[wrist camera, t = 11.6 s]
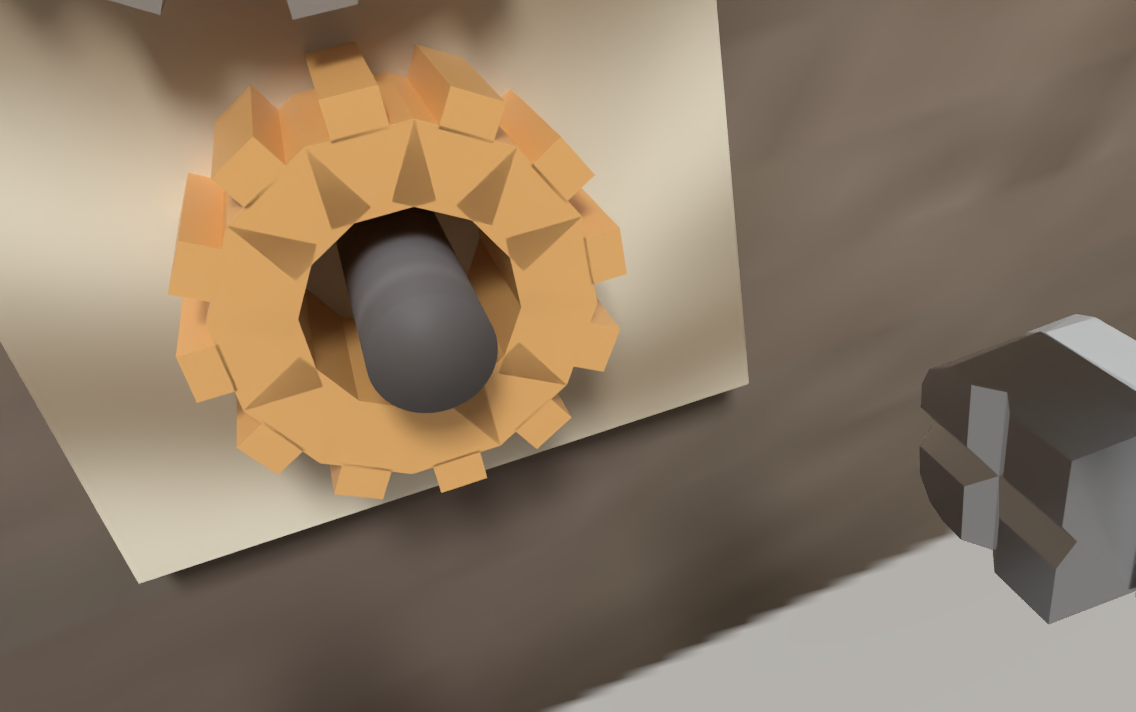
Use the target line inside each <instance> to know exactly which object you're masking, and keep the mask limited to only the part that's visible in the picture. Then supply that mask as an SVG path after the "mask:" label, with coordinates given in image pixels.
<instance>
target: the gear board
mask: <svg viewBox="0 0 1136 712" xmlns="http://www.w3.org/2000/svg"><path fill="white" fill-rule="evenodd" d="M352 42H355V44H356V45H357V47H358V49H359V51H360V53H361V55H362V56H363V58H364V60H365V62H366V64H367V65H368V67H369V69H370V71H371V73H372V74H376V73H380V72H384V71H387V72H391V73H394V74H397V75H401V76H404V77H407V74H408V70H409V67H410V63H411V59H412V55H413V52H414V48H415V44H418V45H422V46H425V47H428V48H431V49H435V50H438V51H441V52H444V53H448V54H451V55H454V56H457V57H461V58H463V59H464V60H465V61H466V62H467V63H468V64H469V65H470V66H471V67H472V68H473V69H474V70H475V71H476V72H477V73H478V74H479V75H480V76H481V77H482V78H483V79H484V80H485V81H486V82H487V83H488V84H489V85H490V86H491V87H492V88H493V89H494V90H495V91H496V92H497V94H498V95H499V96H500V97H502V96H503V95H505V94H506V93H507V92H508V91H509V90H510V89H511V90H513V91H514V92H515V93H516V94H517V95H518V96H519V97H520V98H521V99H522V100H523V101H524V102H525V103H526V104H527V105H528V106H529V107H530V108H531V109H532V110H534V111H535V112H536V113H537V114H538V115H539V116H540V117H541V118H542V119H543V120H544V121H545V122H546V123H547V124H548V125H549V126H550V127H551V128H552V129H553V130H555V131H556V132H557V133H558V134H559V135H560V136H561V137H562V138H563V139H564V141H565V142H566V143H567V144H568V145H569V146H570V147H571V148H572V150H573V151H574V152H575V153H576V154H577V155H578V156H579V157H580V159H581V160H582V161H583V162H584V163H585V164H586V165H587V166H588V168H589V169H590V170H591V171H592V172H593V173H594V174H595V176H593V177H592V178H591V179H590V180H589V181H588V182H587V183H586V184H585V185H584V186H583V187H582V189H583V190H584V191H585V192H586V193H587V194H588V195H589V196H590V197H591V198H592V199H593V200H594V201H595V202H596V203H597V204H598V206H599V207H600V208H601V209H602V210H603V211H604V212H605V213H606V214H607V215H608V216H609V217H610V218H611V219H612V220H613V221H614V222H615V223H616V224H617V225H618V226H619V227H620V232H621V239H622V245H623V252H624V258H625V265H626V271H627V274H625V275H622V276H619V277H615V278H612V279H609V280H605V281H602V282H599V283H595V284H594V286H595V292H596V298H597V299H598V300H599V302H600V303H601V304H602V306H603V307H604V308H605V309H606V311H607V312H608V313H609V315H610V316H611V317H612V319H613V320H614V321H615V323H616V324H617V325H618V326H619V328H620V331H619V334H618V336H617V339H616V342H615V344H614V347H613V349H612V352H611V354H610V357H609V359H608V362H607V365H606V367H605V370H604V372H602V371H596V370H591V369H585V368H579V367H573V370H572V372H571V375H570V378H569V380H568V383H567V385H566V386H565V387H564V388H563V389H562V390H561V391H560V392H559V393H558V394H559V396H560V398H561V399H562V401H563V403H564V405H565V407H566V408H567V410H568V412H569V414H570V415H571V417H572V418H571V419H569V420H568V421H567V422H566V423H565V424H564V425H563V426H562V427H561V428H560V429H558V430H557V431H556V432H555V433H554V434H553V435H552V436H551V437H550V438H549V439H547V440H546V441H545V442H544V443H543V444H542V445H541V446H540V447H539V448H538V449H536V448H535V447H534V446H533V445H531V444H530V443H529V442H528V441H527V440H525V439H524V438H523V437H522V436H520V435H519V434H518V433H517V432H515V433H514V434H513V435H511V436H510V437H509V438H508V439H507V440H506V441H505V442H504V443H503V444H502V445H501V446H498V447H495V448H492V449H489V450H485V451H482V452H480V453H481V457H482V461H483V464H484V468H485V470H487V469H490V468H493V467H496V466H499V465H502V464H505V463H508V462H511V461H515V460H518V459H521V458H524V457H527V456H530V455H533V454H536V453H539V452H542V451H545V450H548V449H551V448H554V447H557V446H560V445H563V444H566V443H569V442H572V441H575V440H579V439H582V438H585V437H588V436H591V435H594V434H597V433H600V432H603V431H606V430H609V429H612V428H615V427H618V426H621V425H624V424H627V423H630V422H633V421H636V420H640V419H643V418H646V417H649V416H652V415H655V414H658V413H661V412H664V411H667V410H670V409H673V408H676V407H679V406H682V405H685V404H688V403H691V402H694V401H697V400H701V399H704V398H707V397H710V396H713V395H716V394H719V393H722V392H725V391H728V390H731V389H734V388H737V387H740V386H743V385H746V384H749V379H748V368H747V356H746V344H745V332H744V321H743V309H742V297H741V285H740V273H739V262H738V250H737V238H736V226H735V215H734V203H733V191H732V179H731V168H730V156H729V144H728V132H727V121H726V109H725V97H724V85H723V73H722V62H721V50H720V38H719V26H718V15H717V3H716V0H0V342H1V343H2V345H3V347H4V349H5V350H6V352H7V354H8V356H9V357H10V359H11V361H12V363H13V364H14V366H15V368H16V370H17V371H18V373H19V375H20V377H21V378H22V380H23V382H24V384H25V385H26V387H27V389H28V391H29V392H30V394H31V396H32V398H33V399H34V401H35V403H36V405H37V406H38V408H39V410H40V412H41V413H42V415H43V417H44V419H45V420H46V422H47V424H48V426H49V427H50V429H51V431H52V433H53V434H54V436H55V438H56V440H57V441H58V443H59V445H60V447H61V448H62V450H63V452H64V454H65V455H66V457H67V459H68V461H69V462H70V464H71V466H72V468H73V469H74V471H75V473H76V475H77V476H78V478H79V480H80V482H81V483H82V485H83V487H84V489H85V490H86V492H87V494H88V496H89V497H90V499H91V501H92V503H93V504H94V506H95V508H96V510H97V511H98V513H99V515H100V517H101V518H102V520H103V522H104V524H105V525H106V527H107V529H108V531H109V532H110V534H111V536H112V538H113V539H114V541H115V543H116V545H117V546H118V548H119V550H120V552H121V554H122V555H123V557H124V559H125V561H126V562H127V564H128V566H129V568H130V569H131V571H132V573H133V575H134V576H135V578H136V580H137V582H138V583H142V582H145V581H149V580H152V579H155V578H158V577H161V576H164V575H167V574H170V573H173V572H176V571H179V570H182V569H185V568H188V567H191V566H194V565H197V564H200V563H203V562H206V561H210V560H213V559H216V558H219V557H222V556H225V555H228V554H231V553H234V552H237V551H240V550H243V549H246V548H249V547H252V546H255V545H258V544H261V543H264V542H267V541H271V540H274V539H277V538H280V537H283V536H286V535H289V534H292V533H295V532H298V531H301V530H304V529H307V528H310V527H313V526H316V525H319V524H322V523H325V522H328V521H332V520H335V519H338V518H341V517H344V516H347V515H350V514H353V513H356V512H359V511H362V510H365V509H368V508H371V507H374V506H377V505H380V504H383V503H386V502H389V501H393V500H396V499H399V498H402V497H405V496H408V495H411V494H414V493H417V492H420V491H423V490H426V489H429V488H432V487H435V486H438V485H439V484H438V481H437V477H436V474H435V471H434V468H430V469H427V470H424V471H421V472H418V473H415V474H407V473H399V472H391V475H390V478H389V482H388V485H387V488H386V491H385V495H384V498H383V499H374V498H365V497H355V496H346V495H336V494H334V490H333V483H332V476H331V470H330V464H322V463H319V462H317V461H316V460H314V459H313V458H312V457H310V456H309V455H307V454H306V453H304V452H302V453H301V454H300V455H299V456H298V457H296V458H295V459H294V460H293V461H292V462H291V463H290V464H289V465H288V466H287V467H286V468H285V469H284V470H283V471H282V472H281V473H280V474H278V475H277V474H276V473H274V472H273V471H271V470H270V469H268V468H267V467H265V466H264V465H262V464H261V463H259V462H257V461H256V460H254V459H253V458H251V457H250V456H248V455H247V454H245V453H244V452H242V451H241V450H239V449H238V448H237V395H236V393H235V392H232V393H228V394H225V395H222V396H218V397H215V398H212V399H208V400H205V401H202V402H198V403H197V402H196V400H195V398H194V395H193V393H192V391H191V389H190V387H189V385H188V382H187V380H186V378H185V376H184V374H183V372H182V369H181V367H180V365H179V363H178V361H177V359H176V350H177V342H178V333H179V325H180V316H181V308H182V299H183V297H179V296H173V295H168V291H169V284H170V277H171V271H172V264H173V257H174V251H175V244H176V237H177V231H178V224H179V218H180V212H181V207H182V202H183V196H184V191H185V186H186V180H187V175H188V173H193V174H197V175H202V176H206V177H210V178H211V169H212V156H213V143H214V130H215V120H216V119H217V118H218V117H219V116H220V115H221V114H222V113H223V112H224V111H225V110H226V109H227V108H228V107H229V106H230V105H231V104H232V103H233V102H234V101H235V100H236V99H237V98H238V97H239V96H240V95H241V94H242V93H243V92H244V91H245V90H246V89H247V88H248V86H249V85H250V84H251V85H252V86H253V87H254V88H255V89H256V90H257V91H258V92H259V93H260V94H261V95H263V96H264V97H265V98H266V99H267V100H268V101H269V102H270V103H271V104H272V105H273V106H275V107H276V108H277V109H279V108H280V107H281V106H282V105H283V104H284V103H285V102H286V101H287V100H288V99H289V98H290V97H291V96H292V95H293V94H296V93H300V92H304V91H308V90H312V89H315V88H314V85H313V82H312V78H311V75H310V72H309V68H308V65H307V61H306V58H305V55H304V54H307V53H311V52H315V51H319V50H323V49H327V48H331V47H335V46H339V45H343V44H348V43H352ZM479 238H480V236H479V232H478V228H477V225H476V224H475V223H474V222H473V221H472V220H468V219H464V218H460V217H455V216H451V215H447V214H443V213H438V212H434V211H430V210H426V209H421V208H417V207H411V208H408V209H404V210H401V211H397V212H393V213H390V214H386V215H383V216H379V217H375V218H372V219H368V220H364V221H361V222H357V223H354V224H353V225H352V226H351V227H350V228H349V229H348V230H347V231H346V232H345V233H344V234H343V235H342V236H341V237H340V238H339V239H338V240H337V241H336V242H335V243H334V244H333V245H332V246H331V247H330V248H329V249H328V250H327V251H326V252H325V253H324V254H323V255H321V256H320V257H319V258H318V259H317V260H316V261H315V262H314V263H313V264H312V265H311V269H310V273H309V277H308V281H307V285H306V289H307V290H309V291H310V292H311V293H312V294H314V295H315V296H316V297H317V298H318V299H320V300H321V301H322V302H323V303H325V304H326V305H327V306H328V307H330V308H331V309H332V310H333V311H335V312H336V313H337V314H338V315H340V316H341V317H346V318H351V319H355V324H356V328H357V332H358V336H359V340H360V345H361V349H362V353H363V357H364V361H365V366H366V370H367V374H368V377H369V379H370V382H371V384H372V385H373V387H374V388H375V390H376V391H377V392H378V393H379V395H380V396H381V397H383V398H384V399H385V400H386V401H388V402H389V403H391V404H392V405H394V406H396V407H398V408H400V409H403V410H406V411H410V412H415V413H436V412H442V411H446V410H449V409H452V408H455V407H457V406H459V405H461V404H463V403H465V402H466V401H468V400H469V399H471V398H472V397H473V396H475V395H476V394H477V393H478V392H479V391H480V390H481V389H482V388H483V387H484V385H485V384H486V383H487V381H488V380H489V378H490V376H491V375H492V373H493V370H494V368H495V365H496V361H497V355H498V343H497V337H496V334H495V331H494V328H493V326H492V324H491V322H490V321H489V319H488V317H487V315H486V313H485V311H484V309H483V307H482V305H481V303H480V301H479V299H478V297H477V295H476V293H475V291H474V289H473V287H472V285H471V283H470V281H469V280H468V278H467V276H468V273H469V270H470V266H471V263H472V260H473V257H474V254H475V251H476V247H477V244H478V241H479Z"/></svg>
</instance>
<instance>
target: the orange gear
mask: <svg viewBox="0 0 1136 712" xmlns="http://www.w3.org/2000/svg"><path fill="white" fill-rule="evenodd" d="M304 55H305V58H306V61H307V65H308V68H309V72H310V75H311V78H312V82H313V85H314V88H315V89H312V90H308V91H304V92H300V93H296V94H293V95H292V96H291V97H290V98H289V99H288V100H287V101H286V102H285V103H284V104H283V105H282V106H281V107H280V108H279V109H277V108H276V107H275V106H273V105H272V104H271V103H270V102H269V101H268V100H267V99H266V98H265V97H264V96H263V95H261V94H260V93H259V92H258V91H257V90H256V89H255V88H254V87H253V86H252V85H251V84H250V85H249V86H248V88H247V89H246V90H245V91H244V92H243V93H242V94H241V95H240V96H239V97H238V98H237V99H236V100H235V101H234V102H233V103H232V104H231V105H230V106H229V107H228V108H227V109H226V110H225V111H224V112H223V113H222V114H221V115H220V116H219V117H218V118H217V119H216V120H215V130H214V143H213V156H212V169H211V178H210V177H206V176H202V175H197V174H193V173H188V175H187V180H186V186H185V191H184V196H183V202H182V207H181V212H180V218H179V224H178V231H177V237H176V244H175V251H174V257H173V264H172V271H171V277H170V284H169V291H168V295H173V296H179V297H183V299H182V308H181V316H180V325H179V333H178V342H177V350H176V359H177V361H178V363H179V365H180V367H181V369H182V372H183V374H184V376H185V378H186V380H187V382H188V385H189V387H190V389H191V391H192V393H193V395H194V398H195V400H196V402H197V403H198V402H202V401H205V400H208V399H212V398H215V397H218V396H222V395H225V394H228V393H232V392H235V393H236V395H237V448H238V449H239V450H241V451H242V452H244V453H245V454H247V455H248V456H250V457H251V458H253V459H254V460H256V461H257V462H259V463H261V464H262V465H264V466H265V467H267V468H268V469H270V470H271V471H273V472H274V473H276V474H277V475H278V474H280V473H281V472H282V471H283V470H284V469H285V468H286V467H287V466H288V465H289V464H290V463H291V462H292V461H293V460H294V459H295V458H296V457H298V456H299V455H300V454H301V453H302V452H304V453H306V454H307V455H309V456H310V457H312V458H313V459H314V460H316V461H317V462H319V463H322V464H330V470H331V476H332V483H333V490H334V494H336V495H346V496H355V497H365V498H374V499H383V498H384V495H385V491H386V488H387V485H388V482H389V478H390V475H391V472H399V473H407V474H415V473H418V472H421V471H424V470H427V469H430V468H434V471H435V474H436V477H437V481H438V484H439V487H440V490H441V493H443V492H446V491H449V490H452V489H455V488H458V487H461V486H464V485H467V484H470V483H473V482H476V481H479V480H482V479H485V478H487V475H486V471H485V468H484V464H483V461H482V457H481V453H480V452H482V451H485V450H489V449H492V448H495V447H498V446H501V445H502V444H503V443H504V442H505V441H506V440H507V439H508V438H509V437H510V436H511V435H513V434H514V433H515V432H517V433H518V434H519V435H520V436H522V437H523V438H524V439H525V440H527V441H528V442H529V443H530V444H531V445H533V446H534V447H535V448H536V449H538V448H539V447H540V446H541V445H542V444H543V443H544V442H545V441H546V440H547V439H549V438H550V437H551V436H552V435H553V434H554V433H555V432H556V431H557V430H558V429H560V428H561V427H562V426H563V425H564V424H565V423H566V422H567V421H568V420H569V419H571V418H572V417H571V415H570V414H569V412H568V410H567V408H566V407H565V405H564V403H563V401H562V399H561V398H560V396H559V394H558V393H559V392H560V391H561V390H562V389H563V388H564V387H565V386H566V385H567V383H568V380H569V378H570V375H571V372H572V370H573V367H579V368H585V369H591V370H596V371H602V372H604V370H605V367H606V365H607V362H608V359H609V357H610V354H611V352H612V349H613V347H614V344H615V342H616V339H617V336H618V334H619V331H620V328H619V326H618V325H617V324H616V323H615V321H614V320H613V319H612V317H611V316H610V315H609V313H608V312H607V311H606V309H605V308H604V307H603V306H602V304H601V303H600V302H599V300H598V299H597V298H596V292H595V286H594V284H595V283H599V282H602V281H605V280H609V279H612V278H615V277H619V276H622V275H625V274H627V271H626V265H625V258H624V252H623V245H622V239H621V232H620V227H619V226H618V225H617V224H616V223H615V222H614V221H613V220H612V219H611V218H610V217H609V216H608V215H607V214H606V213H605V212H604V211H603V210H602V209H601V208H600V207H599V206H598V204H597V203H596V202H595V201H594V200H593V199H592V198H591V197H590V196H589V195H588V194H587V193H586V192H585V191H584V190H583V189H582V187H583V186H584V185H585V184H586V183H587V182H588V181H589V180H590V179H591V178H592V177H593V176H595V174H594V173H593V172H592V171H591V170H590V169H589V168H588V166H587V165H586V164H585V163H584V162H583V161H582V160H581V159H580V157H579V156H578V155H577V154H576V153H575V152H574V151H573V150H572V148H571V147H570V146H569V145H568V144H567V143H566V142H565V141H564V139H563V138H562V137H561V136H560V135H559V134H558V133H557V132H556V131H555V130H553V129H552V128H551V127H550V126H549V125H548V124H547V123H546V122H545V121H544V120H543V119H542V118H541V117H540V116H539V115H538V114H537V113H536V112H535V111H534V110H532V109H531V108H530V107H529V106H528V105H527V104H526V103H525V102H524V101H523V100H522V99H521V98H520V97H519V96H518V95H517V94H516V93H515V92H514V91H513V90H511V89H510V90H509V91H508V92H507V93H506V94H505V95H503V96H502V97H500V96H499V95H498V94H497V92H496V91H495V90H494V89H493V88H492V87H491V86H490V85H489V84H488V83H487V82H486V81H485V80H484V79H483V78H482V77H481V76H480V75H479V74H478V73H477V72H476V71H475V70H474V69H473V68H472V67H471V66H470V65H469V64H468V63H467V62H466V61H465V60H464V59H463V58H461V57H457V56H454V55H451V54H448V53H444V52H441V51H438V50H435V49H431V48H428V47H425V46H422V45H418V44H415V48H414V52H413V55H412V59H411V63H410V67H409V70H408V74H407V77H404V76H401V75H397V74H394V73H391V72H387V71H384V72H380V73H376V74H372V73H371V71H370V69H369V67H368V65H367V64H366V62H365V60H364V58H363V56H362V55H361V53H360V51H359V49H358V47H357V45H356V44H355V42H352V43H348V44H343V45H339V46H335V47H331V48H327V49H323V50H319V51H315V52H311V53H307V54H304ZM411 207H417V208H421V209H426V210H430V211H434V212H438V213H443V214H447V215H451V216H455V217H460V218H464V219H468V220H472V221H473V222H474V223H475V224H476V225H477V228H478V232H479V236H480V238H479V241H478V244H477V247H476V251H475V254H474V257H473V260H472V263H471V266H470V270H469V273H468V276H467V278H468V280H469V281H470V283H471V285H472V287H473V289H474V291H475V293H476V295H477V297H478V299H479V301H480V303H481V305H482V307H483V309H484V311H485V313H486V315H487V317H488V319H489V321H490V322H491V324H492V326H493V328H494V331H495V334H496V337H497V343H498V355H497V361H496V365H495V368H494V370H493V373H492V375H491V376H490V378H489V380H488V381H487V383H486V384H485V385H484V387H483V388H482V389H481V390H480V391H479V392H478V393H477V394H476V395H475V396H473V397H472V398H471V399H469V400H468V401H466V402H465V403H463V404H461V405H459V406H457V407H455V408H452V409H449V410H446V411H442V412H436V413H415V412H410V411H406V410H403V409H400V408H398V407H396V406H394V405H392V404H391V403H389V402H388V401H386V400H385V399H384V398H383V397H381V396H380V395H379V393H378V392H377V391H376V390H375V388H374V387H373V385H372V384H371V382H370V379H369V377H368V374H367V370H366V366H365V361H364V357H363V353H362V349H361V345H360V340H359V336H358V332H357V328H356V324H355V319H351V318H346V317H341V316H340V315H338V314H337V313H336V312H335V311H333V310H332V309H331V308H330V307H328V306H327V305H326V304H325V303H323V302H322V301H321V300H320V299H318V298H317V297H316V296H315V295H314V294H312V293H311V292H310V291H309V290H307V289H306V285H307V281H308V277H309V273H310V269H311V265H312V264H313V263H314V262H315V261H316V260H317V259H318V258H319V257H320V256H321V255H323V254H324V253H325V252H326V251H327V250H328V249H329V248H330V247H331V246H332V245H333V244H334V243H335V242H336V241H337V240H338V239H339V238H340V237H341V236H342V235H343V234H344V233H345V232H346V231H347V230H348V229H349V228H350V227H351V226H352V225H353V224H354V223H357V222H361V221H364V220H368V219H372V218H375V217H379V216H383V215H386V214H390V213H393V212H397V211H401V210H404V209H408V208H411Z"/></svg>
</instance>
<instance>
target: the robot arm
mask: <svg viewBox="0 0 1136 712" xmlns="http://www.w3.org/2000/svg"><path fill="white" fill-rule="evenodd" d="M921 408H922V409H923V410H924V411H925V412H926V413H927V414H929V415H930V416H931V417H932V418H933V419H934V420H935V421H934V423H933V425H932V426H931V428H930V430H929V431H928V433H927V434H926V436H925V438H924V439H923V441H922V443H921V444H920V475H921V478H922V481H923V484H924V486H925V489H926V492H927V495H928V497H929V500H930V502H931V504H932V505H933V507H934V508H935V510H936V511H937V513H938V514H939V516H940V517H941V519H942V520H943V522H944V523H945V524H946V525H947V526H948V527H949V528H950V529H951V530H952V531H953V532H954V533H955V534H956V535H957V536H958V537H959V538H960V539H961V540H964V541H967V542H971V543H973V544H977V545H980V546H983V547H986V548H989V549H992V550H993V558H994V570H995V573H996V574H997V575H998V576H999V577H1000V578H1001V579H1002V580H1003V581H1004V582H1005V583H1006V584H1007V585H1008V586H1009V587H1010V588H1011V589H1012V590H1013V591H1014V592H1015V593H1017V594H1018V595H1019V596H1020V597H1021V598H1022V599H1023V600H1024V601H1025V602H1026V603H1027V604H1028V605H1029V606H1030V607H1031V608H1032V609H1033V610H1034V611H1035V612H1036V613H1037V614H1038V615H1039V616H1040V617H1041V618H1043V620H1045V622H1046V623H1048V624H1051V623H1053V622H1056V621H1059V620H1061V619H1064V618H1067V617H1069V616H1072V615H1074V614H1077V613H1080V612H1082V611H1085V610H1087V609H1090V608H1093V607H1095V606H1098V605H1100V604H1103V603H1106V602H1108V601H1111V600H1113V599H1116V598H1118V597H1121V596H1124V595H1126V594H1129V593H1132V592H1134V591H1136V341H1135V340H1134V339H1132V338H1130V337H1128V336H1127V335H1125V334H1123V333H1121V332H1120V331H1118V330H1116V329H1114V328H1113V327H1111V326H1109V325H1107V324H1106V323H1104V322H1102V321H1100V320H1099V319H1097V318H1095V317H1091V316H1084V315H1078V314H1074V315H1072V316H1069V317H1066V318H1064V319H1061V320H1058V321H1056V322H1053V323H1050V324H1048V325H1045V326H1043V327H1040V328H1037V329H1035V330H1032V331H1029V332H1027V333H1026V334H1025V335H1023V336H1019V337H1016V338H1013V339H1010V340H1007V341H1005V342H1002V343H999V344H997V345H994V346H991V347H988V348H986V349H983V350H980V351H977V352H975V353H972V354H969V355H966V356H964V357H961V358H958V359H955V360H953V361H950V362H947V363H944V364H942V365H939V366H936V367H933V368H931V369H929V371H928V373H927V375H926V377H925V379H924V381H923V383H922V394H921ZM1135 597H1136V593H1135Z"/></svg>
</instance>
